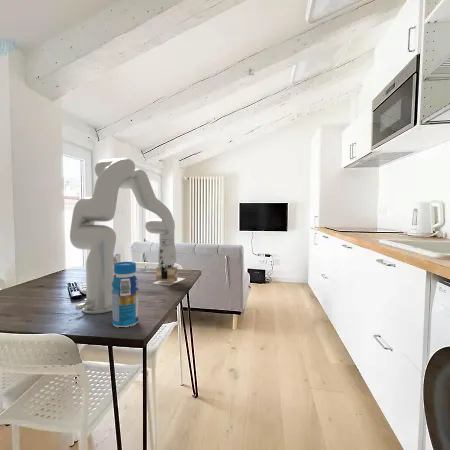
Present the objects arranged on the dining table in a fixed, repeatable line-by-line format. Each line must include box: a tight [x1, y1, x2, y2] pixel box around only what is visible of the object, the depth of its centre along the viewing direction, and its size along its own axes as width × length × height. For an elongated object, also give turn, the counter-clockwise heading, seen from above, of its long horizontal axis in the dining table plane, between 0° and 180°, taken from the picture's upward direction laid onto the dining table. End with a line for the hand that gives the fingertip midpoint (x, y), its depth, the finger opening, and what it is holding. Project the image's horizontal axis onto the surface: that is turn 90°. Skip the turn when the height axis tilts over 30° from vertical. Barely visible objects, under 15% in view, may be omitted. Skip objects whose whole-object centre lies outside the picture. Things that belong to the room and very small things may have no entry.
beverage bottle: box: [111, 261, 140, 328], centre depth 96 cm, size 8×8×20 cm
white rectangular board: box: [152, 277, 186, 286], centre depth 156 cm, size 16×10×1 cm, turn 158°
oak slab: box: [156, 266, 178, 282], centre depth 151 cm, size 4×10×7 cm, turn 68°
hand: (166, 277), depth 151 cm, fingers closed on oak slab, 4 cm apart
